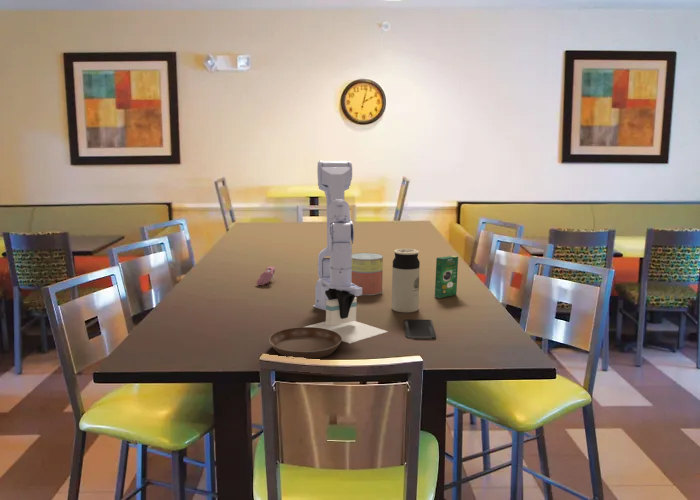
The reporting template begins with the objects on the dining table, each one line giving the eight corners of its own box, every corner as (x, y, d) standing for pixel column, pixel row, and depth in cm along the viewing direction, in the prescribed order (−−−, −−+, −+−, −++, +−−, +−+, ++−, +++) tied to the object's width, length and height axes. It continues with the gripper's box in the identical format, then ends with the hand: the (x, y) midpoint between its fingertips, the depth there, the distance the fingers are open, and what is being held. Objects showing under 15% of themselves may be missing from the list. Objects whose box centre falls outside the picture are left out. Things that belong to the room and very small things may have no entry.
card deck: (325, 324, 166) (326, 300, 165) (350, 318, 172) (351, 296, 171) (331, 325, 164) (331, 302, 163) (356, 320, 170) (357, 297, 169)
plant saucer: (350, 358, 147) (350, 346, 146) (275, 366, 142) (275, 353, 141) (331, 335, 163) (331, 324, 163) (263, 341, 158) (263, 330, 158)
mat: (304, 328, 168) (304, 326, 168) (342, 318, 178) (342, 316, 178) (349, 344, 156) (349, 343, 156) (388, 332, 165) (388, 331, 165)
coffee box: (450, 293, 207) (452, 254, 204) (457, 295, 205) (458, 255, 202) (434, 297, 202) (435, 257, 199) (440, 298, 200) (442, 258, 197)
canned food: (389, 292, 208) (390, 257, 205) (361, 297, 201) (362, 260, 199) (369, 285, 217) (369, 251, 214) (342, 289, 210) (342, 255, 208)
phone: (405, 336, 160) (403, 319, 175) (405, 340, 160) (403, 322, 175) (436, 336, 160) (432, 319, 175) (436, 341, 160) (431, 323, 175)
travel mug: (386, 309, 187) (387, 250, 184) (402, 304, 193) (404, 247, 189) (407, 315, 181) (408, 254, 178) (423, 309, 187) (425, 250, 184)
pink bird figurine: (267, 290, 215) (275, 273, 214) (255, 284, 215) (263, 267, 214) (270, 284, 225) (279, 267, 224) (259, 278, 224) (267, 261, 223)
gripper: (311, 265, 168) (311, 313, 170) (348, 274, 157) (348, 325, 160) (331, 261, 172) (331, 309, 175) (368, 270, 162) (367, 320, 164)
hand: (340, 316), depth 168 cm, fingers closed on card deck, 2 cm apart
